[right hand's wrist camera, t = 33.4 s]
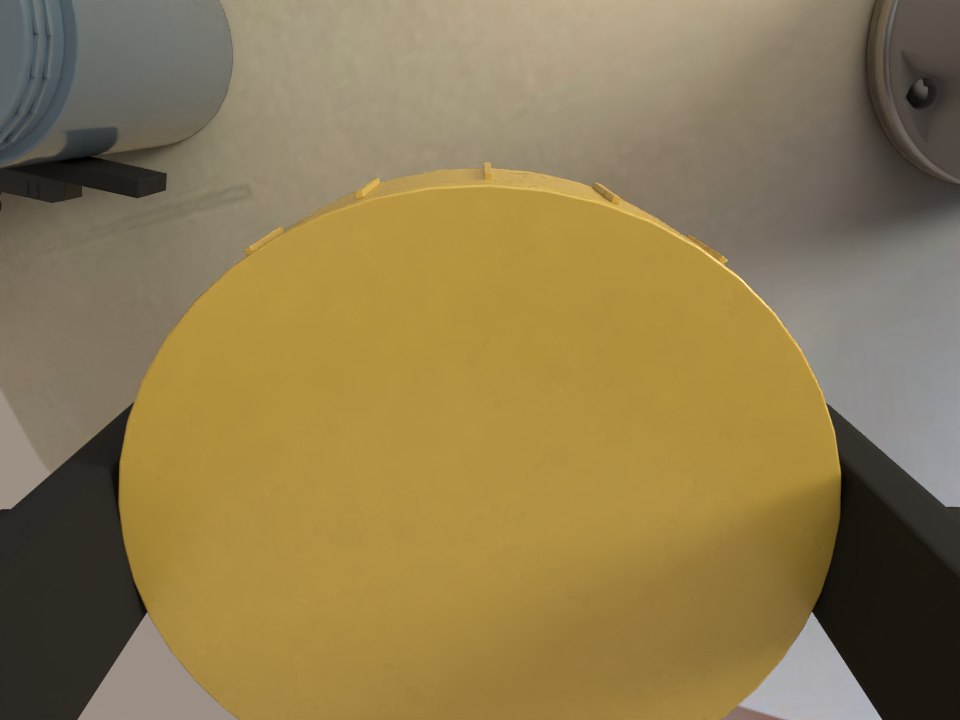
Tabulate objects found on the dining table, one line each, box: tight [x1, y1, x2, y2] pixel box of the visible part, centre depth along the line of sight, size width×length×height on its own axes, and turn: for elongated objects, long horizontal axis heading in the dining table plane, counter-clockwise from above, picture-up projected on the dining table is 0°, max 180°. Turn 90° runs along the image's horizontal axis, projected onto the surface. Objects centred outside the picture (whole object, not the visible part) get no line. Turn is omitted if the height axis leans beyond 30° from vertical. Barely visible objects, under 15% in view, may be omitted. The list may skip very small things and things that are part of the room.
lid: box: [118, 162, 841, 720], centre depth 11 cm, size 11×11×2 cm
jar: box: [0, 0, 233, 169], centre depth 26 cm, size 10×10×16 cm
